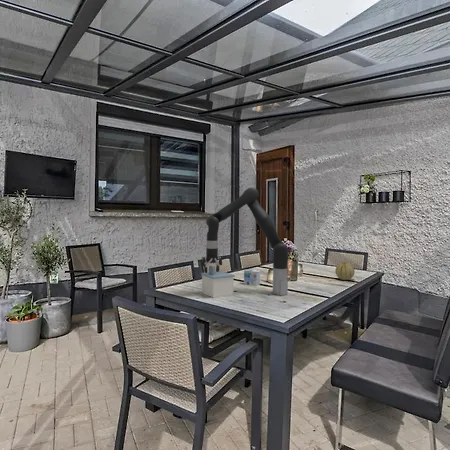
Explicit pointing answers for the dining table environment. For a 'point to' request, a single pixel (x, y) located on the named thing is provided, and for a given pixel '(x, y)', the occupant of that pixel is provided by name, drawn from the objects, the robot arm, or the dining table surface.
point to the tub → (217, 286)
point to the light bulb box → (252, 277)
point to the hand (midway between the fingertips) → (211, 272)
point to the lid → (216, 274)
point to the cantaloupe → (344, 271)
